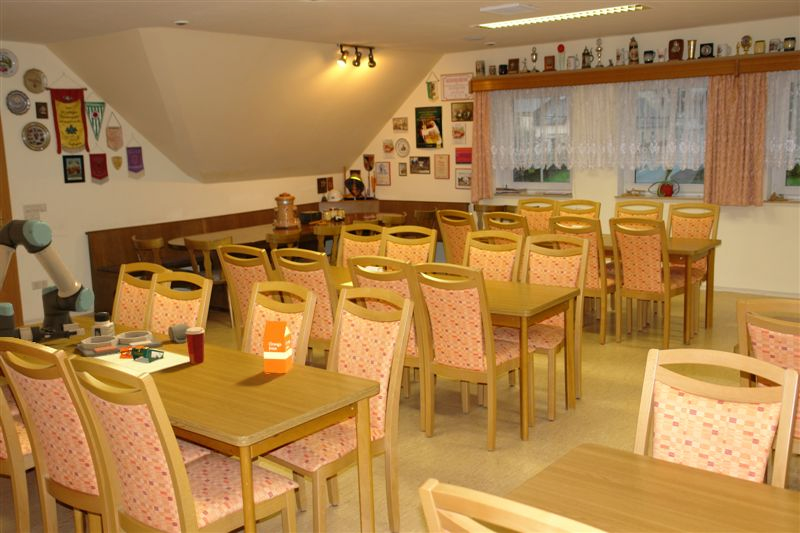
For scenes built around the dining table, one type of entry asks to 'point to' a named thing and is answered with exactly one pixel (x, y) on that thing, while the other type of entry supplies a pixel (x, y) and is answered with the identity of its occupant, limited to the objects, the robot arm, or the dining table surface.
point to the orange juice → (277, 347)
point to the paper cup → (195, 344)
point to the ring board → (116, 343)
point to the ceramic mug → (178, 333)
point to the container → (102, 325)
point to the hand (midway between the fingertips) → (81, 328)
